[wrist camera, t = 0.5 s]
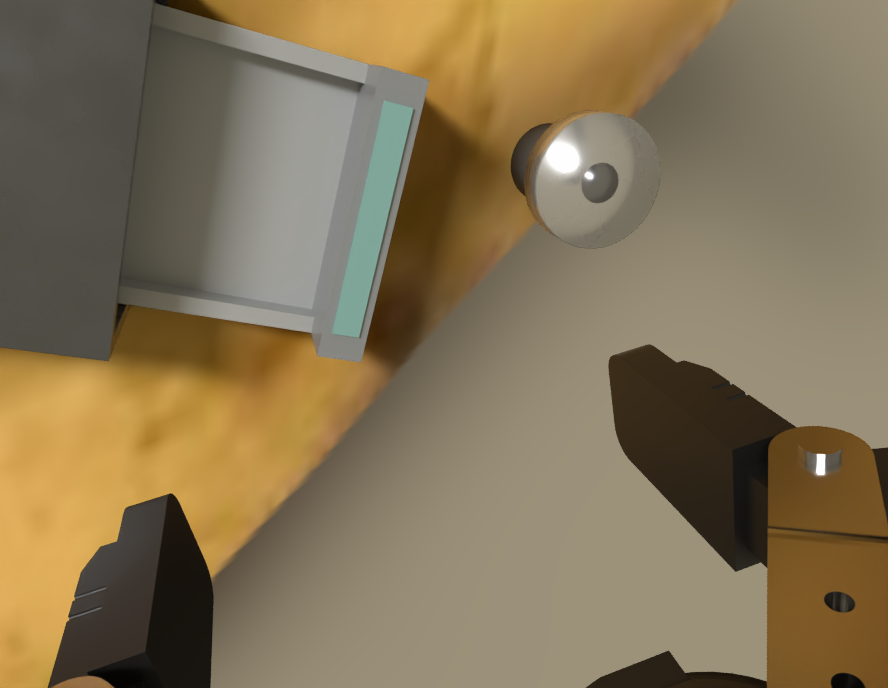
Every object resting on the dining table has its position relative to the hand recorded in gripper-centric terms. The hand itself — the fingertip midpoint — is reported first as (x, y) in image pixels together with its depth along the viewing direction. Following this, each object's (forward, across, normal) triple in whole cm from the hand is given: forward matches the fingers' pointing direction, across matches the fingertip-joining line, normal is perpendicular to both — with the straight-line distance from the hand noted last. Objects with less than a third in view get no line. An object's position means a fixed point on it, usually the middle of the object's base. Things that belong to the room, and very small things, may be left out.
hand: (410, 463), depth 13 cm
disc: (+20, -13, +2) cm, 24 cm away
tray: (+24, +3, -2) cm, 25 cm away
